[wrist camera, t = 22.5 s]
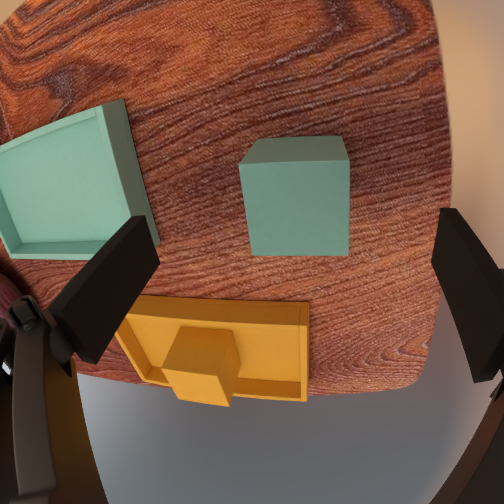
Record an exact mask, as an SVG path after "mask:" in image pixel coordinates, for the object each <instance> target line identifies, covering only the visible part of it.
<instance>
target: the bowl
mask: <svg viewBox="0 0 504 504" xmlns="http://www.w3.org/2000/svg"><path fill="white" fill-rule="evenodd" d="M22 296H23V295H22V294H21V292H20V290H19V289H18V288H17V286H16V285H15V284H14V283H13V282H12V281H11V280H10V279H8V278H7V277H6V276H4V275H3V274H1V273H0V318H5V319H7V321H8V322H9V324H10V325H11V327H15V325H14V324H13V322H12V321H11V319H10V317H9V316H8V314H7V313H6V312H7V310H8V308H9V306H10V305H11V304H12V303H13V302H14V301H15V300H16V299H18V298H20V297H22Z"/></svg>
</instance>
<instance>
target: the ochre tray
mask: <svg viewBox="0 0 504 504" xmlns="http://www.w3.org/2000/svg"><path fill="white" fill-rule="evenodd" d="M181 326H182V327H193V328H206V329H221V330H232V332H233V336H234V340H235V343H236V347H237V351H238V354H239V358H240V362H241V367H240V370H239V374H238V378H237V381H236V385H235V389H234V392H233V396H240V397H250V398H260V399H272V400H287V401H307V397H308V387H309V302H280V301H246V300H220V299H199V298H181V297H165V296H150V295H139V296H138V298H137V299H136V301H135V303H134V304H133V306H132V307H131V309H130V310H129V312H128V313H127V315H126V317H125V318H124V320H123V321H122V323H121V325H120V326H119V328H118V329H117V331H116V333H115V336H116V338H117V339H118V341H119V343H120V345H121V346H122V348H123V350H124V351H125V353H126V355H127V356H128V358H129V360H130V361H131V363H132V364H133V366H134V368H135V369H136V371H137V372H138V374H139V376H140V377H141V379H142V380H143V381H145V382H150V383H155V384H160V385H165V386H170V387H171V385H170V383H169V382H168V380H167V378H166V377H165V375H164V373H163V371H162V370H161V367H162V365H163V363H164V360H165V358H166V356H167V354H168V352H169V350H170V347H171V345H172V343H173V341H174V339H175V337H176V335H177V332H178V330H179V328H180V327H181Z"/></svg>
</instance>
